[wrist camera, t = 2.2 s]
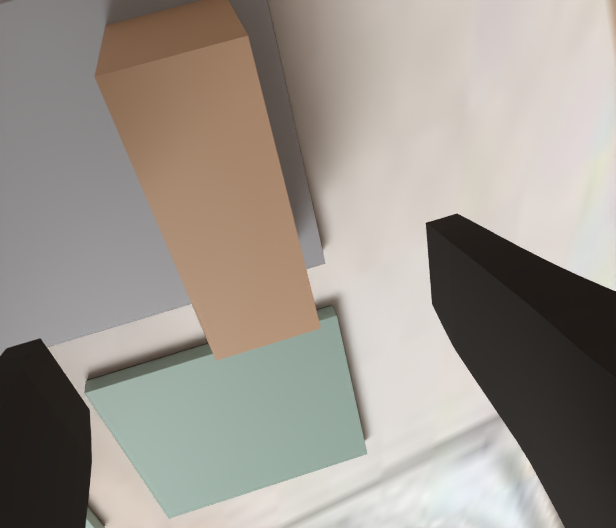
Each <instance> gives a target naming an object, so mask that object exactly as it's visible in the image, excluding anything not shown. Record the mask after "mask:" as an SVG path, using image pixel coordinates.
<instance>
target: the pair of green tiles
mask: <svg viewBox="0 0 616 528" xmlns="http://www.w3.org/2000/svg"><path fill="white" fill-rule="evenodd" d="M316 311H317V315H318V319H319V323H320V327H321V329H317V330H314V331H311V332H308V333H305V334H301V335H298V336H295V337H292V338H288V339H285V340H282V341H279V342H275V343H272V344H269V345H266V346H262V347H259V348H256V349H253V350H250V351H246V352H243V353H240V354H237V355H233V356H230V357H227V358H224V359H220V360H217V361H216V359H215V357H214V355H213V352H212V350H211V348H210V345H209V343H208V344H205V345H202V346H199V347H195V348H192V349H189V350H186V351H182V352H179V353H176V354H172V355H169V356H166V357H163V358H159V359H156V360H153V361H150V362H146V363H143V364H140V365H137V366H133V367H130V368H127V369H124V370H120V371H117V372H114V373H110V374H107V375H104V376H101V377H97V378H94V379H91V380H88V381H86V384H85V395H86V396H87V398H88V399H89V401H90V402H91V404H92V405H93V407H94V408H95V410H96V411H97V413H98V414H99V416H100V417H101V419H102V420H103V421H104V423H105V424H106V426H107V427H108V429H109V430H110V432H111V433H112V435H113V436H114V438H115V439H116V441H117V442H118V444H119V445H120V447H121V448H122V450H123V451H124V453H125V454H126V456H127V457H128V459H129V460H130V462H131V463H132V465H133V466H134V468H135V469H136V471H137V472H138V474H139V475H140V477H141V478H142V479H143V481H144V482H145V484H146V485H147V487H148V488H149V490H150V491H151V493H152V494H153V496H154V497H155V499H156V500H157V502H158V503H159V505H160V506H161V508H162V509H163V511H164V512H165V514H166V515H167V517H168V518H172V517H175V516H179V515H182V514H185V513H188V512H191V511H194V510H197V509H200V508H203V507H206V506H209V505H212V504H215V503H218V502H221V501H225V500H228V499H231V498H234V497H237V496H240V495H243V494H246V493H249V492H252V491H255V490H258V489H261V488H264V487H267V486H271V485H274V484H277V483H280V482H283V481H286V480H289V479H292V478H295V477H298V476H301V475H304V474H307V473H310V472H313V471H317V470H320V469H323V468H326V467H329V466H332V465H335V464H338V463H341V462H344V461H347V460H350V459H353V458H356V457H359V456H363V455H366V454H367V450H366V446H365V441H364V437H363V432H362V428H361V423H360V419H359V414H358V410H357V405H356V400H355V396H354V391H353V387H352V382H351V378H350V373H349V369H348V364H347V360H346V355H345V351H344V346H343V342H342V337H341V332H340V328H339V323H338V319H337V315H336V313H335V310H334V308H333V305H332V306H329V307H326V308H323V309H319V310H316ZM86 528H105V527H104V526H103V525H102V523H101V522H100V521H99V520H98V518H97V517H96V516H95V515H94V514H93V512H92V511H91V510H90V509H89V508H87V518H86Z"/></svg>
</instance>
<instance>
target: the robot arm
mask: <svg viewBox="0 0 616 528" xmlns="http://www.w3.org/2000/svg"><path fill="white" fill-rule="evenodd" d="M426 231H427V244H428V257H429V270H430V283H431V296H432V305H433V307H434V309H435V311H436V313H437V315H438V317H439V319H440V321H441V323H442V325H443V327H444V329H445V331H446V333H447V335H448V337H449V339H450V341H451V343H452V345H453V347H454V348H455V350H456V352H457V353H458V355H459V356H460V358H461V359H462V361H463V362H464V364H465V365H466V367H467V368H468V370H469V371H470V373H471V374H472V376H473V377H474V379H475V380H476V382H477V383H478V385H479V386H480V387H481V389H482V390H483V392H484V393H485V395H486V396H487V398H488V399H489V401H490V402H491V404H492V405H493V407H494V408H495V410H496V411H497V413H498V414H499V415H500V417H501V418H502V420H503V421H504V423H505V424H506V426H507V427H508V429H509V430H510V432H511V433H512V435H513V436H514V438H515V439H516V441H517V442H518V444H519V445H520V447H521V449H522V450H523V452H524V453H525V455H526V457H527V458H528V460H529V461H530V463H531V465H532V467H533V469H534V470H535V472H536V474H537V476H538V478H539V480H540V481H541V483H542V485H543V487H544V489H545V491H546V493H547V494H548V496H549V498H550V500H551V502H552V504H553V506H554V507H555V509H556V511H557V513H558V515H559V517H560V519H561V521H562V523H563V525H564V526H565V528H616V291H613V290H611V289H609V288H606V287H604V286H602V285H599V284H597V283H595V282H592V281H590V280H588V279H585V278H583V277H581V276H579V275H576V274H574V273H572V272H570V271H568V270H566V269H563V268H561V267H559V266H557V265H555V264H553V263H551V262H549V261H547V260H545V259H543V258H541V257H539V256H537V255H535V254H533V253H531V252H529V251H527V250H525V249H523V248H521V247H519V246H517V245H515V244H513V243H512V242H510V241H508V240H506V239H504V238H502V237H500V236H498V235H497V234H495V233H493V232H491V231H489V230H487V229H485V228H484V227H482V226H480V225H478V224H476V223H474V222H472V221H471V220H469V219H467V218H465V217H463V216H461V215H459V214H454V215H451V216H447V217H444V218H441V219H437V220H434V221H431V222H427V223H426ZM91 465H92V451H91V426H90V410H89V408H88V407H87V405H86V404H85V402H84V401H83V399H82V398H81V397H80V395H79V394H78V392H77V391H76V389H75V388H74V386H73V385H72V383H71V382H70V380H69V379H68V378H67V376H66V375H65V373H64V372H63V370H62V369H61V367H60V366H59V364H58V363H57V361H56V360H55V359H54V357H53V356H52V354H51V353H50V351H49V350H48V348H47V347H46V345H45V344H44V342H43V341H42V340H41V338H39V339H36V340H32V341H29V342H26V343H22V344H19V345H15V346H12V347H9V348H6V349H5V351H4V352H3V353H2V354H1V355H0V528H86V518H87V508H88V498H89V487H90V477H91Z"/></svg>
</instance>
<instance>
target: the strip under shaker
mask: <svg viewBox="0 0 616 528" xmlns="http://www.w3.org/2000/svg"><path fill="white" fill-rule="evenodd" d="M322 264H325V260H324V255H323V251H322V246H321V242H320V237H319V233H318V228H317V224H316V219H315V215H314V210H313V205H312V201H311V196H310V192H309V187H308V183H307V178H306V174H305V169H304V165H303V160H302V156H301V151H300V147H299V142H298V137H297V133H296V128H295V124H294V119H293V115H292V110H291V106H290V101H289V97H288V92H287V88H286V83H285V79H284V74H283V70H282V65H281V60H280V56H279V51H278V47H277V42H276V38H275V33H274V29H273V24H272V20H271V15H270V11H269V6H268V2H267V0H0V355H1V354H2V353H3V352H4V351H5V349H6V348H9V347H12V346H15V345H19V344H22V343H26V342H29V341H32V340H36V339H39V338H41V340H42V341H43V342H44V344H45V345H46V347H50V346H53V345H56V344H60V343H63V342H66V341H70V340H73V339H76V338H80V337H83V336H86V335H90V334H93V333H96V332H100V331H103V330H106V329H109V328H113V327H116V326H119V325H123V324H126V323H129V322H133V321H136V320H139V319H143V318H146V317H149V316H153V315H156V314H159V313H163V312H166V311H169V310H173V309H176V308H179V307H183V306H186V305H189V304H192V306H193V308H194V310H195V313H196V315H197V317H198V320H199V322H200V324H201V327H202V329H203V331H204V334H205V336H206V338H207V341H208V343H209V345H210V348H211V350H212V352H213V355H214V357H215V359H216V361H217V360H220V359H224V358H227V357H230V356H233V355H237V354H240V353H243V352H246V351H250V350H253V349H256V348H259V347H262V346H266V345H269V344H272V343H275V342H279V341H282V340H285V339H288V338H292V337H295V336H298V335H301V334H305V333H308V332H311V331H314V330H317V329H321V327H320V323H319V319H318V315H317V311H316V307H315V303H314V299H313V295H312V291H311V286H310V282H309V278H308V274H307V270H306V269H309V268H312V267H315V266H319V265H322Z"/></svg>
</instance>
